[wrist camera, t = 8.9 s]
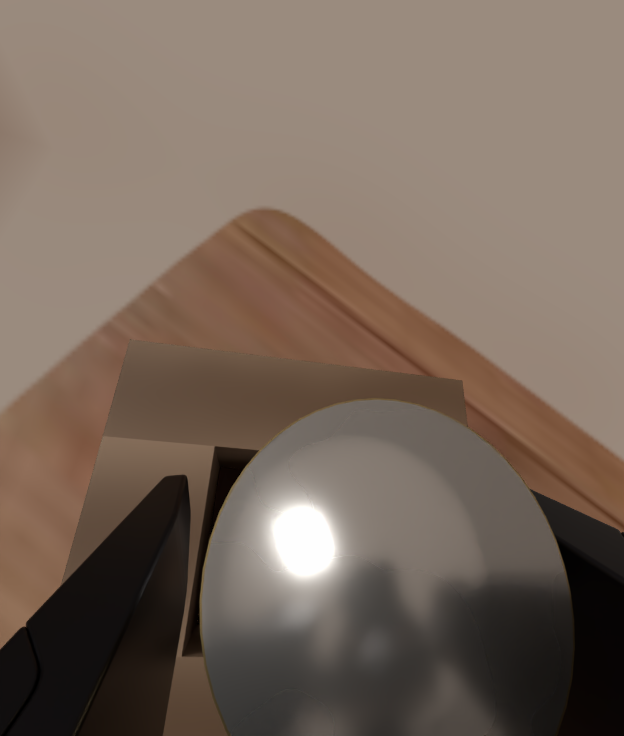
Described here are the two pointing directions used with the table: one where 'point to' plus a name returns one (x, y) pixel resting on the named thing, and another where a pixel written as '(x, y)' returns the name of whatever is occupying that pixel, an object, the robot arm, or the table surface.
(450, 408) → the block
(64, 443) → the table surface
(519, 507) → the steel pin
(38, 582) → the table surface
